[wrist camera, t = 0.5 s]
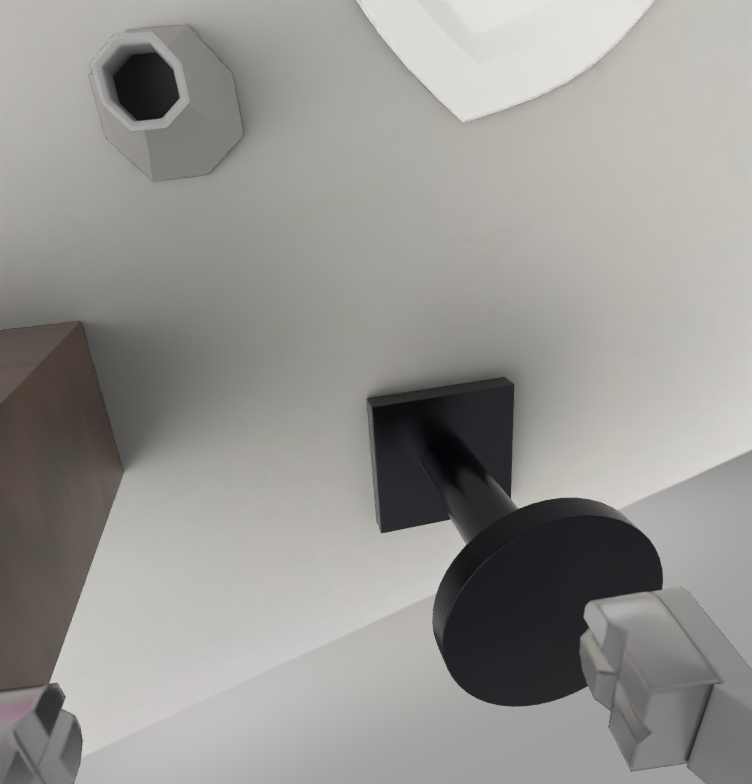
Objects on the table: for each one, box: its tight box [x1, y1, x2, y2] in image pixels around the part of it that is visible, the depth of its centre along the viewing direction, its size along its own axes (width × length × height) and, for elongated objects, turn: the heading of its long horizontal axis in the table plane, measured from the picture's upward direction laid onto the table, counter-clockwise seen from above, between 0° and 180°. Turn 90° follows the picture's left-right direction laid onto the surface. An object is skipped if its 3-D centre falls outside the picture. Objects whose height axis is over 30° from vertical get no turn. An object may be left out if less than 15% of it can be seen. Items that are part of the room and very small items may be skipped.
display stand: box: [367, 377, 663, 707], centre depth 33 cm, size 11×11×16 cm
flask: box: [89, 25, 244, 182], centre depth 25 cm, size 7×7×10 cm
